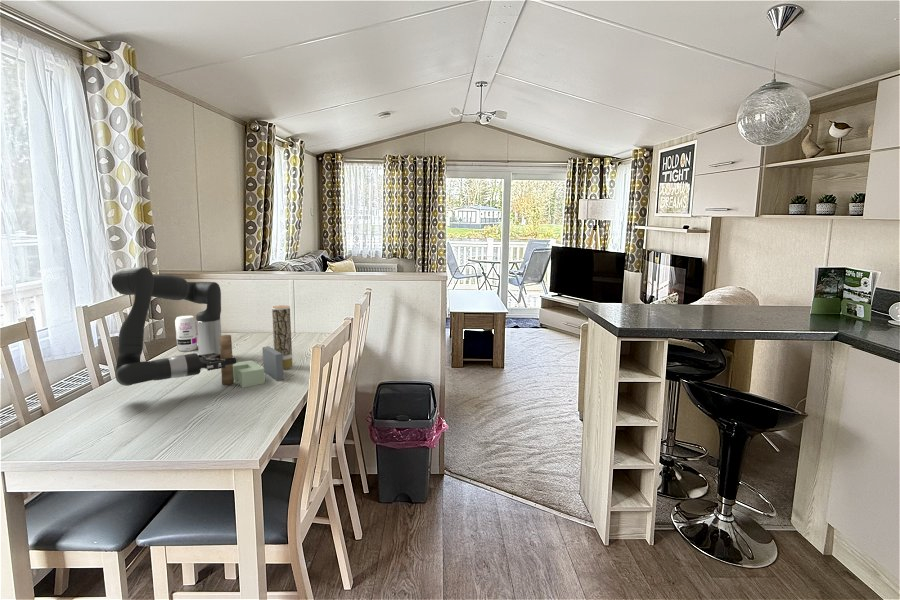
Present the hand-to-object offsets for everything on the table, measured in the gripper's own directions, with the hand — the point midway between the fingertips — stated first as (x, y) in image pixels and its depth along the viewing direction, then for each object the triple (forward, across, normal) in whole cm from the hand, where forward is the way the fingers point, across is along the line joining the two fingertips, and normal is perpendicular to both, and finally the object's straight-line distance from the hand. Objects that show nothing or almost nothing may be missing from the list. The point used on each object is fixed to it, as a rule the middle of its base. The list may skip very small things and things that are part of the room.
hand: (232, 358), depth 194 cm
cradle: (+5, 0, +10) cm, 11 cm away
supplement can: (-2, +62, +10) cm, 63 cm away
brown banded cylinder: (-2, 0, +10) cm, 10 cm away
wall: (+15, 0, +10) cm, 17 cm away
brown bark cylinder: (+22, +8, +10) cm, 25 cm away
